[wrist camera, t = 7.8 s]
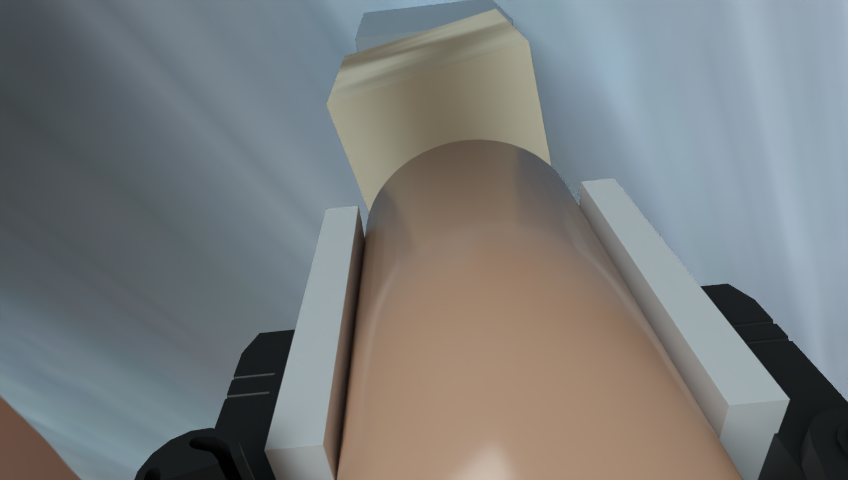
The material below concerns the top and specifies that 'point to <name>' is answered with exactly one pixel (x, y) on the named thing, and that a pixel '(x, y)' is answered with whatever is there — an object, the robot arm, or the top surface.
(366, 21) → the cube bottom
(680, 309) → the robot arm
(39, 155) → the top surface
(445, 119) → the beige cube
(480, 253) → the tan rounded cylinder
